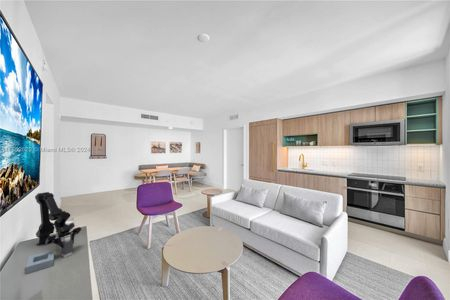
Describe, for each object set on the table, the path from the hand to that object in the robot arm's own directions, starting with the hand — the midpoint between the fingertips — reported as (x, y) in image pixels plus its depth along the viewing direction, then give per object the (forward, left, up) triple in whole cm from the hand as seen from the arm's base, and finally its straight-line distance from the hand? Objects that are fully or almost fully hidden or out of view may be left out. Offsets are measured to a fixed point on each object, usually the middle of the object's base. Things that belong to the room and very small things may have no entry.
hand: (68, 245), depth 122 cm
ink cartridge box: (-32, -18, -7) cm, 38 cm away
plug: (-1, -1, -7) cm, 7 cm away
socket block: (+8, -11, -7) cm, 15 cm away
